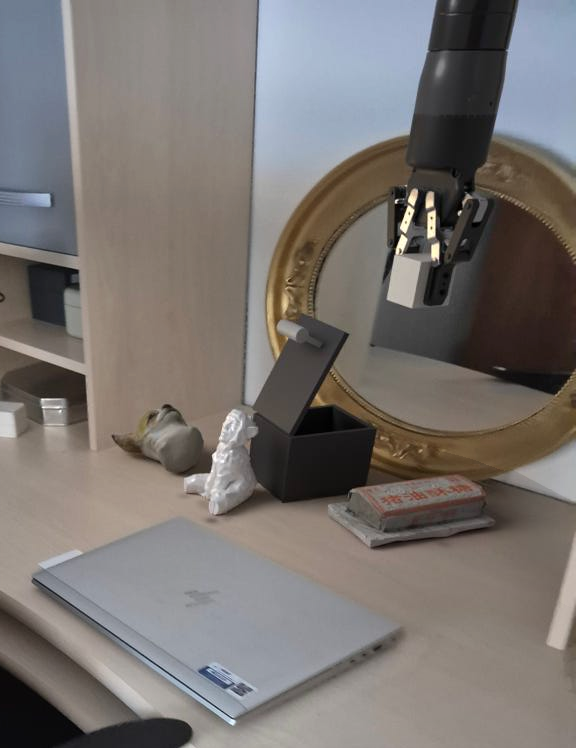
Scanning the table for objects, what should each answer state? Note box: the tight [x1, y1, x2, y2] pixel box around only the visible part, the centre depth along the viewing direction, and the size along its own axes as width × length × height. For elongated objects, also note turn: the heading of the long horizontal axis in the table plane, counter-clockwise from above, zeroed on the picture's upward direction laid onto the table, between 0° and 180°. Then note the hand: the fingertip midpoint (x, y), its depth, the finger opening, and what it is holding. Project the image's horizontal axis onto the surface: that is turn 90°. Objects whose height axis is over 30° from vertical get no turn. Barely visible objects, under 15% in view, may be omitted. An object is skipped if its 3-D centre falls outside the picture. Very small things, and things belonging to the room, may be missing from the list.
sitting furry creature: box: [183, 408, 258, 516], centre depth 109 cm, size 10×9×12 cm
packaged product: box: [327, 473, 496, 548], centre depth 104 cm, size 18×5×10 cm
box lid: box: [251, 312, 351, 436], centre depth 106 cm, size 13×11×5 cm
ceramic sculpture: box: [110, 403, 205, 473], centre depth 121 cm, size 11×9×15 cm
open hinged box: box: [248, 403, 378, 504], centre depth 114 cm, size 13×11×9 cm
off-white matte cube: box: [386, 251, 458, 309], centre depth 88 cm, size 4×4×4 cm
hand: (417, 299), depth 89 cm, fingers closed on off-white matte cube, 4 cm apart
